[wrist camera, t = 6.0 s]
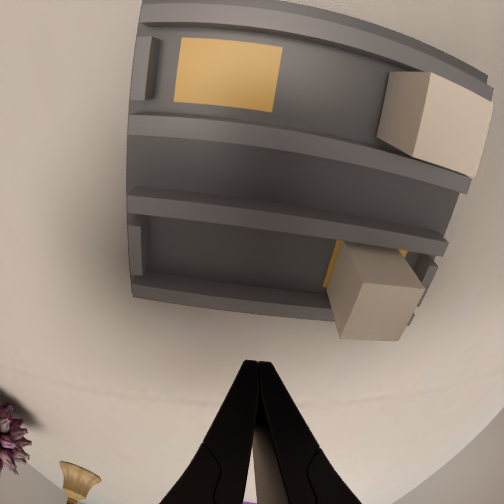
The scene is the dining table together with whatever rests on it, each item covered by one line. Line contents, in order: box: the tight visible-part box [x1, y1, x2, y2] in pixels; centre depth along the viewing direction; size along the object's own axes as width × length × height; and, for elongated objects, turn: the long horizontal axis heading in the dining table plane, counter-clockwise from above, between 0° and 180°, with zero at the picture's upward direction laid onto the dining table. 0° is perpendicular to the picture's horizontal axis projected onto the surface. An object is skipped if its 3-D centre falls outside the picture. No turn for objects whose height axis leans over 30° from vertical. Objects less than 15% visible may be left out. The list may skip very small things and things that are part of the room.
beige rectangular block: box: [376, 72, 494, 178], centre depth 10 cm, size 3×3×4 cm
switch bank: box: [126, 0, 493, 326], centre depth 13 cm, size 16×15×3 cm
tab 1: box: [326, 241, 425, 341], centre depth 14 cm, size 3×3×4 cm
